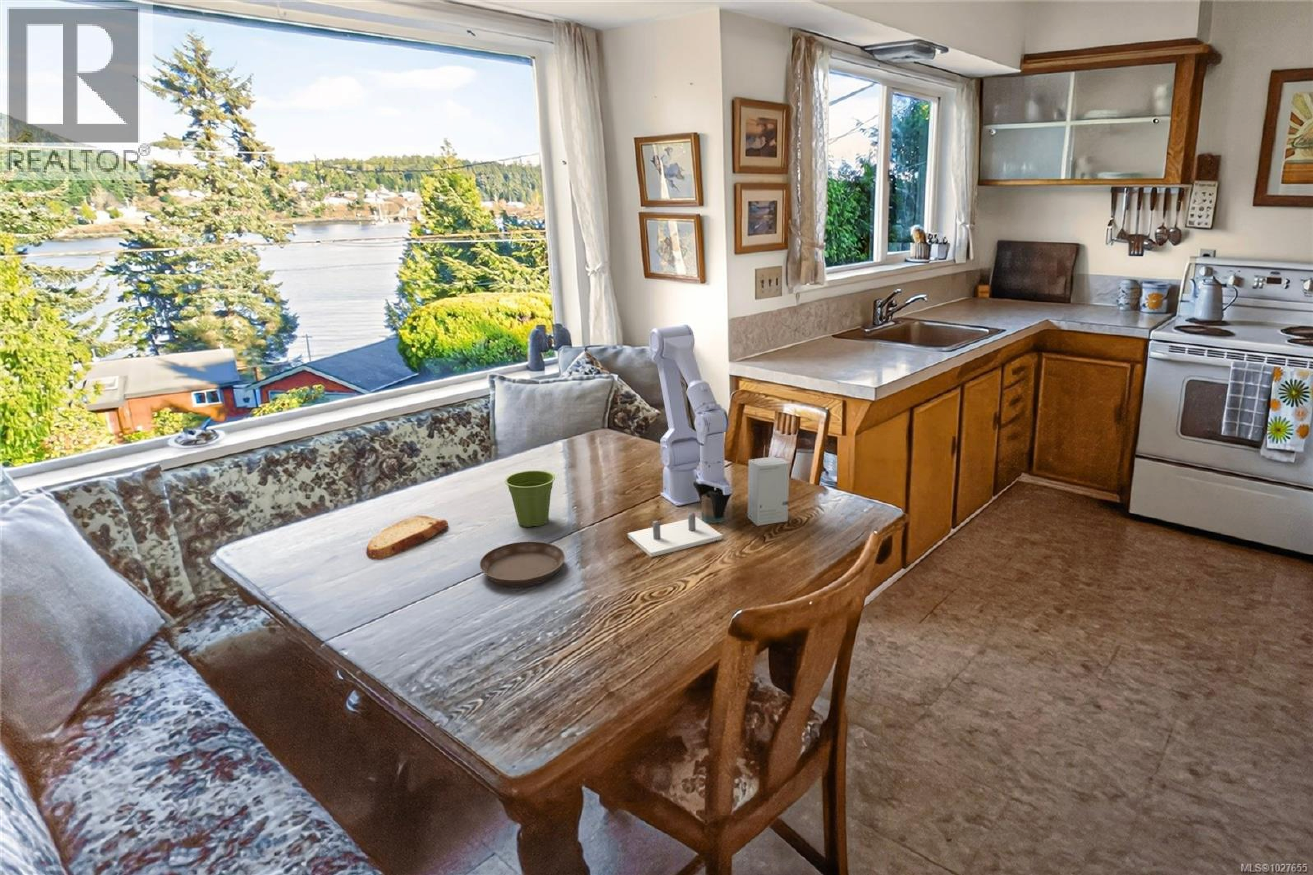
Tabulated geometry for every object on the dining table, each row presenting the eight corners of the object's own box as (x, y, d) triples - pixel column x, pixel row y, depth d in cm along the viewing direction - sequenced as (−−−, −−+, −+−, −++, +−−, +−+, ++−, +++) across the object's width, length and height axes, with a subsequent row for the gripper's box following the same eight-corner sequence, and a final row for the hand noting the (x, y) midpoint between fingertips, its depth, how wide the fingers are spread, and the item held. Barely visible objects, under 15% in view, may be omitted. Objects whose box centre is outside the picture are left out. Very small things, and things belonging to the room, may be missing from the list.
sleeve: (698, 517, 188) (698, 494, 186) (716, 513, 190) (716, 490, 188) (709, 524, 183) (708, 501, 182) (727, 520, 186) (727, 496, 184)
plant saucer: (583, 568, 165) (582, 555, 164) (516, 601, 152) (515, 587, 151) (529, 546, 176) (528, 534, 175) (463, 575, 164) (462, 562, 163)
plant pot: (549, 533, 182) (545, 488, 179) (501, 530, 185) (497, 486, 181) (564, 513, 193) (561, 470, 190) (519, 511, 196) (515, 469, 192)
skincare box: (757, 526, 181) (757, 466, 177) (746, 517, 187) (746, 458, 182) (789, 521, 184) (790, 462, 179) (778, 512, 189) (779, 454, 185)
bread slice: (364, 562, 171) (362, 547, 170) (372, 531, 188) (369, 516, 187) (448, 551, 175) (446, 536, 174) (448, 521, 192) (446, 507, 191)
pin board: (627, 537, 178) (626, 516, 177) (696, 520, 186) (696, 501, 184) (650, 557, 168) (650, 535, 167) (722, 539, 176) (722, 518, 174)
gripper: (682, 454, 187) (683, 506, 191) (713, 471, 174) (713, 527, 178) (707, 449, 190) (708, 501, 194) (739, 466, 177) (740, 521, 181)
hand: (713, 513), depth 186 cm, fingers closed on sleeve, 5 cm apart
